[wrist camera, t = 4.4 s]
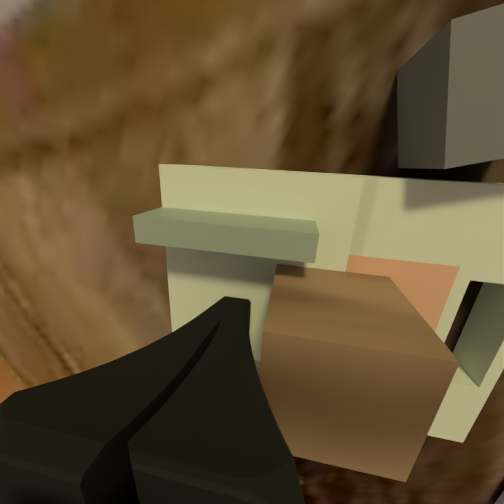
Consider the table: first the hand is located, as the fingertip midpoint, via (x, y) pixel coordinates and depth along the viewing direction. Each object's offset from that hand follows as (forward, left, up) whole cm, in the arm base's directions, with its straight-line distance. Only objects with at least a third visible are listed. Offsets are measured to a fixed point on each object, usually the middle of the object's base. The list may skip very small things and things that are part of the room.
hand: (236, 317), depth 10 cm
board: (0, -4, -3) cm, 5 cm away
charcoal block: (+8, -7, -3) cm, 12 cm away
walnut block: (0, -4, -1) cm, 4 cm away
